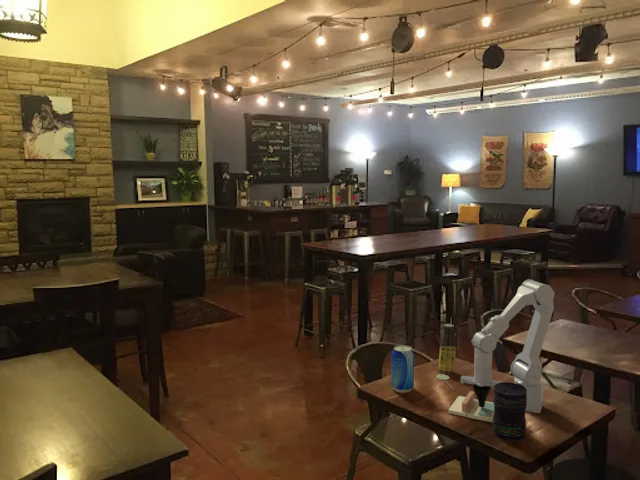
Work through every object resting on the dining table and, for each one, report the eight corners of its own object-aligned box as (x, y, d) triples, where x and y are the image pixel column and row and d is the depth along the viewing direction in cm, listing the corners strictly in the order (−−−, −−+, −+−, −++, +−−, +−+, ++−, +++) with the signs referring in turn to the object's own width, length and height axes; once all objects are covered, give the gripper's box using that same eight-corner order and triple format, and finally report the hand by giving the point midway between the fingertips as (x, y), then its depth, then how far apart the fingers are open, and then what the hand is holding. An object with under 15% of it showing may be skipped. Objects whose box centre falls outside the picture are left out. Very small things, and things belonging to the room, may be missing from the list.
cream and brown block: (475, 402, 198) (475, 390, 197) (466, 416, 187) (466, 404, 186) (458, 399, 201) (458, 387, 200) (448, 413, 190) (448, 401, 189)
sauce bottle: (439, 375, 224) (439, 327, 221) (438, 369, 230) (439, 322, 227) (455, 375, 223) (456, 327, 220) (454, 370, 229) (455, 323, 226)
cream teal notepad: (502, 407, 193) (502, 404, 193) (494, 422, 182) (494, 419, 182) (476, 402, 198) (476, 399, 198) (466, 417, 187) (467, 413, 186)
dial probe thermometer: (447, 389, 209) (434, 374, 223) (447, 392, 209) (434, 376, 224) (460, 389, 209) (446, 373, 224) (460, 391, 210) (446, 375, 224)
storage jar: (504, 423, 182) (506, 379, 180) (532, 435, 174) (533, 389, 172) (485, 432, 176) (487, 387, 174) (513, 445, 168) (514, 397, 166)
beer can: (418, 390, 210) (418, 348, 207) (401, 395, 205) (402, 353, 203) (403, 383, 216) (403, 343, 214) (386, 388, 212) (386, 347, 210)
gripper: (458, 368, 188) (457, 406, 190) (502, 375, 181) (501, 415, 183) (463, 361, 195) (463, 398, 196) (507, 368, 188) (505, 406, 189)
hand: (481, 406), depth 190 cm, fingers closed
